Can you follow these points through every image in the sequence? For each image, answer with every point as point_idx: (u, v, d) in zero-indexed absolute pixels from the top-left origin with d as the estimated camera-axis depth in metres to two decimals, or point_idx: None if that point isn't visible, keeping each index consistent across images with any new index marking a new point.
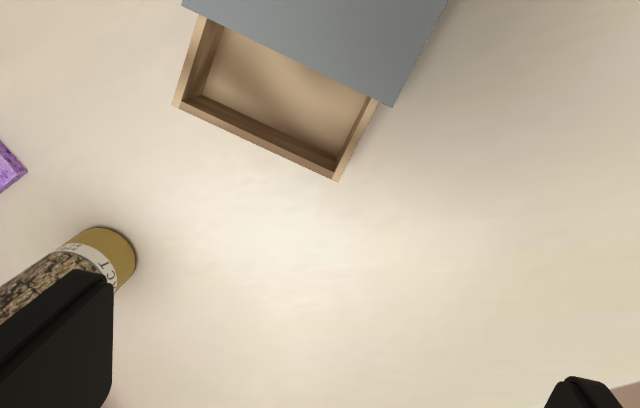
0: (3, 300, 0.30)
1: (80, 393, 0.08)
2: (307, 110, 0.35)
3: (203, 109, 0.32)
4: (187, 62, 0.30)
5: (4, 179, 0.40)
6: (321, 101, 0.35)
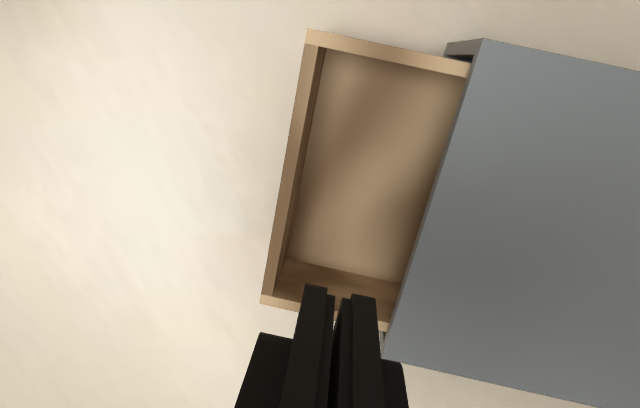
0: None
1: None
2: (340, 209, 0.25)
3: (312, 85, 0.19)
4: (386, 51, 0.17)
5: None
6: (356, 225, 0.25)
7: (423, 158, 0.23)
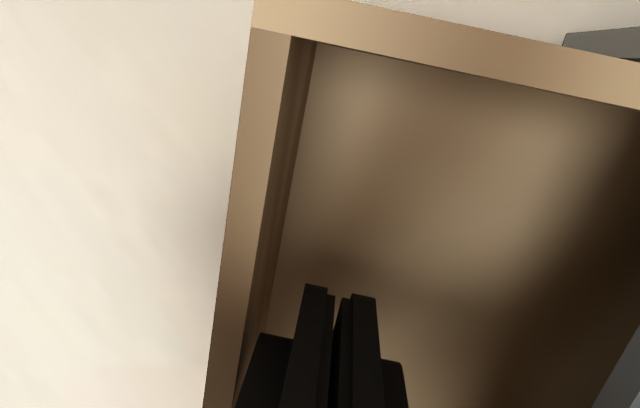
0: None
1: None
2: None
3: (278, 140, 0.07)
4: (495, 51, 0.06)
5: None
6: None
7: (511, 262, 0.12)
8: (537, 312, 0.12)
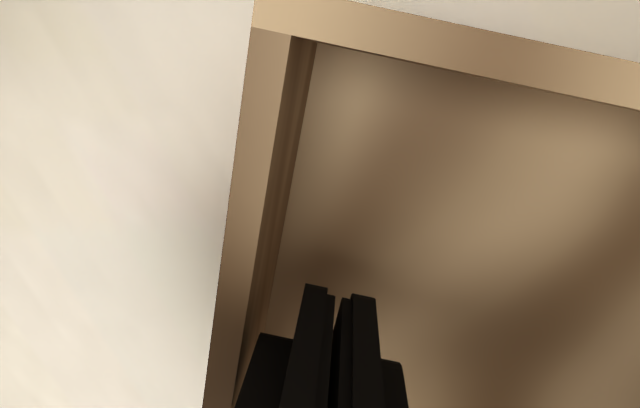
0: None
1: None
2: None
3: (278, 140, 0.07)
4: (494, 51, 0.06)
5: None
6: None
7: (510, 262, 0.12)
8: (537, 312, 0.12)
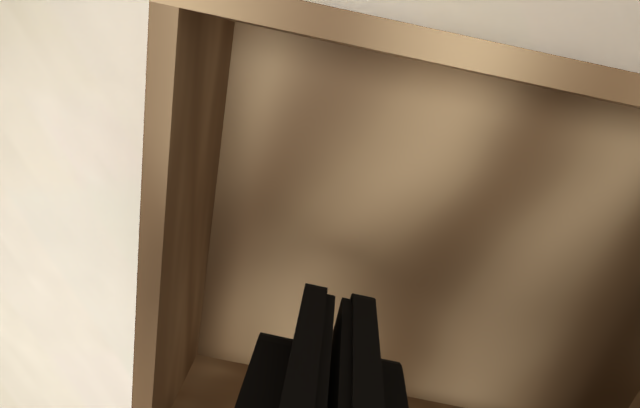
0: None
1: None
2: (276, 284, 0.16)
3: (181, 90, 0.09)
4: (324, 18, 0.08)
5: None
6: None
7: (406, 206, 0.14)
8: (431, 250, 0.15)
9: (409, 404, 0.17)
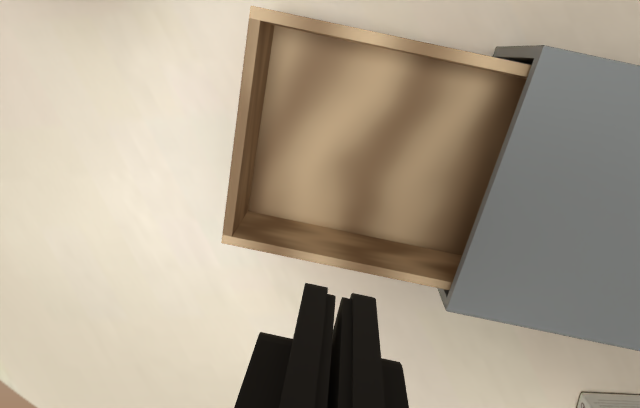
0: None
1: None
2: (292, 166, 0.29)
3: (257, 53, 0.23)
4: (315, 24, 0.21)
5: None
6: (306, 180, 0.29)
7: (360, 120, 0.28)
8: (374, 144, 0.28)
9: (366, 237, 0.30)
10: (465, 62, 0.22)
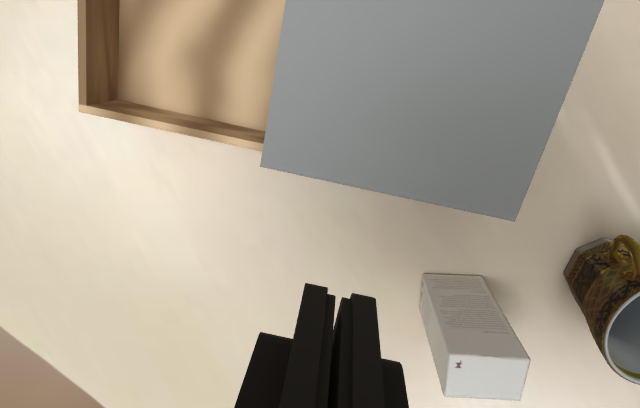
0: None
1: None
2: (149, 57, 0.35)
3: None
4: None
5: None
6: (162, 70, 0.35)
7: (199, 15, 0.33)
8: (213, 36, 0.34)
9: (215, 121, 0.36)
10: None
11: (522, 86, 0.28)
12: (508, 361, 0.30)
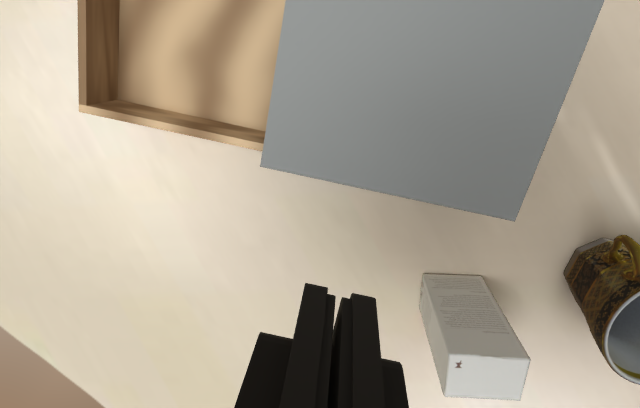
0: None
1: None
2: (149, 57, 0.35)
3: None
4: None
5: None
6: (162, 70, 0.35)
7: (199, 15, 0.33)
8: (213, 36, 0.34)
9: (215, 121, 0.36)
10: None
11: (522, 86, 0.28)
12: (508, 361, 0.30)
